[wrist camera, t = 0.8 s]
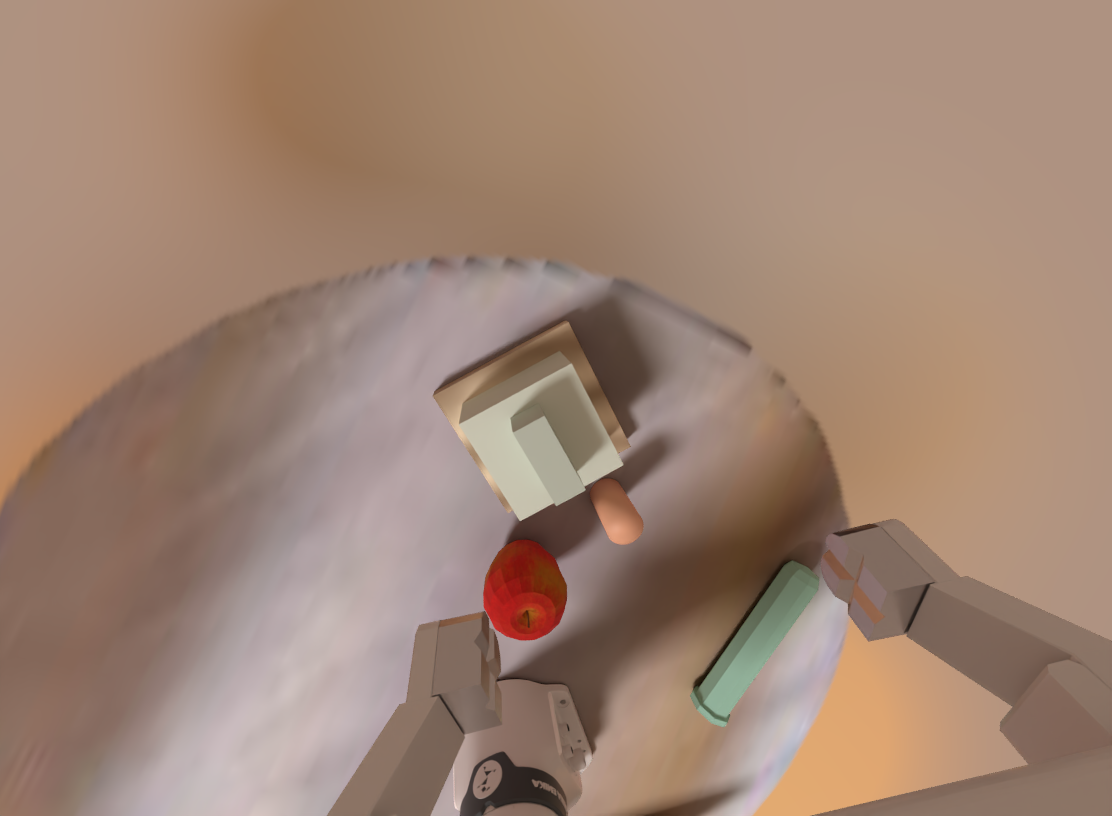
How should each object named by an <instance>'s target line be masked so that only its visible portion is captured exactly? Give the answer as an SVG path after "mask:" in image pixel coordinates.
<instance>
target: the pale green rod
mask: <svg viewBox="0 0 1112 816" xmlns="http://www.w3.org/2000/svg"><path fill="white" fill-rule="evenodd" d="M818 586H819V578H818V577H817V576H816V575H815V574H814V573H813V572H812V571H811V570H810V569H809V568H808V567H806V566H804V565H802V564H800V563H797V562H795V561H793V560H792V561H790V562H788V563H786V564H785V565H784V566H783V567H782V569H781V570H780V572H779V573H778V575H777V576H776V577H775V579H774V580H773V582H772V583H771V585H770V586H769V588H768V589H767V590H766V592H765V593H764V595H763V596H762V598H761V599H760V600H759V602H758V603H757V605H756V606H755V608H754V609H753V611H752V612H751V613H750V615H749V616H748V618H747V619H746V621H745V622H744V623H743V625H742V626H741V628H740V629H739V631H738V632H737V633H736V635H735V636H734V638H733V639H732V641H731V642H730V644H729V645H728V646H727V648H726V649H725V651H724V652H723V654H722V655H721V656H720V658H719V659H718V661H717V662H716V664H715V665H714V667H713V668H712V669H711V671H710V672H709V674H708V675H707V677H706V678H705V680H704V681H703V682H702V684H701V685H700V687H698V686H696V687H695V688H694V690H693V691H692V693H691V695H690V697H691V699H692V701H693V703H694V705H695V707H696V709H697V710H698V711H699V712H700V713H701V714H702V715H703V716H704V717H705V718H706V719H707V720H709V721H710V722H711V723H712V724H715V725H718V726H722V727H725V725H726V724H727V723H728V720H729V717H730V714H729V713H730V712H731V710H732V709H733V708H734V706H735V705H736V703H737V702H738V701H739V699H740V698H741V696H742V695H743V694H744V692H745V691H746V689H747V688H748V687H749V685H750V684H751V683H752V681H753V680H754V678H755V677H756V676H757V674H758V673H759V671H760V670H761V669H762V667H763V666H764V664H765V663H766V662H767V660H768V659H769V657H770V656H771V655H772V653H773V652H774V650H775V649H776V648H777V646H778V645H779V644H780V642H781V641H782V639H783V638H784V637H785V635H786V634H787V632H788V631H789V630H790V628H791V627H792V625H793V624H794V623H795V621H796V620H797V618H798V617H799V616H800V614H801V613H802V611H803V610H804V609H805V607H806V606H807V604H808V603H809V602H810V600H811V599H812V598H813V596H814V595H815V593H816V592H817V591H818Z"/></svg>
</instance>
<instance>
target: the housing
mask: <svg viewBox="0 0 1112 816" xmlns="http://www.w3.org/2000/svg"><path fill="white" fill-rule="evenodd" d="M459 426H460V427H461V429H462V430H463V432H464V434H465V435H466V437H467V438H468V440H469V442H470V443H471V445H472V446H473V448H474V449H475V451H476V453H477V454H478V456H479V457H480V459H481V460H482V462H483V464H484V465H485V467H486V468H487V470H488V471H489V473H490V475H491V476H492V478H493V479H494V481H495V482H496V484H497V486H498V487H499V489H500V490H501V492H502V493H503V495H504V497H505V498H506V500H507V501H508V503H509V504H510V506H511V508H512V509H513V511H514V512H515V514H516V515H517V517H518V519H519V520H520V521H522V520H523V519H525V518H527V517H529V516H531V515H533V514H534V513H536V512H538V511H540V510H542V509H544V508H546V507H547V506H549V505H551V504H553V503H555V505H556V506H558V505H560V504H561V503H563V502H565V501H567V500H569V499H571V498H573V497H574V496H576V495H578V494H580V493H582V492H584V491H585V490H586V489H585V487H584V486H586V485H588V484H590V483H592V482H594V481H595V480H597V479H599V478H601V477H603V476H605V475H606V474H608V473H610V472H612V471H614V470H616V469H618V468H619V467H621V466H623V463H622V461H621V459H620V457H619V455H618V453H617V451H616V449H615V447H614V445H613V443H612V441H611V439H610V437H609V435H608V434H607V432H606V430H605V428H604V426H603V424H602V422H601V420H600V418H599V416H598V414H597V412H596V410H595V408H594V406H593V404H592V402H591V400H590V398H589V396H588V394H587V393H586V391H585V389H584V387H583V385H582V383H581V381H580V379H579V377H578V375H577V373H576V371H575V369H574V367H573V365H572V363H571V362H570V361H569V360H568V359H567V358H566V357H565V356H564V355H563V354H562V353H561V352H560V351H558V352H556V353H555V354H553V355H551V356H549V357H547V358H545V359H543V360H542V361H540V362H538V363H536V364H534V365H532V366H531V367H529V368H527V369H525V370H523V371H521V372H520V373H518V374H516V375H514V376H512V377H510V378H509V379H507V380H505V381H503V382H501V383H499V384H497V385H496V386H494V387H492V388H490V389H488V390H486V391H485V392H483V393H481V394H479V395H477V396H475V397H474V398H472V399H470V400H468V401H466V402H464V403H462V409H461V415H460V420H459Z"/></svg>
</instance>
